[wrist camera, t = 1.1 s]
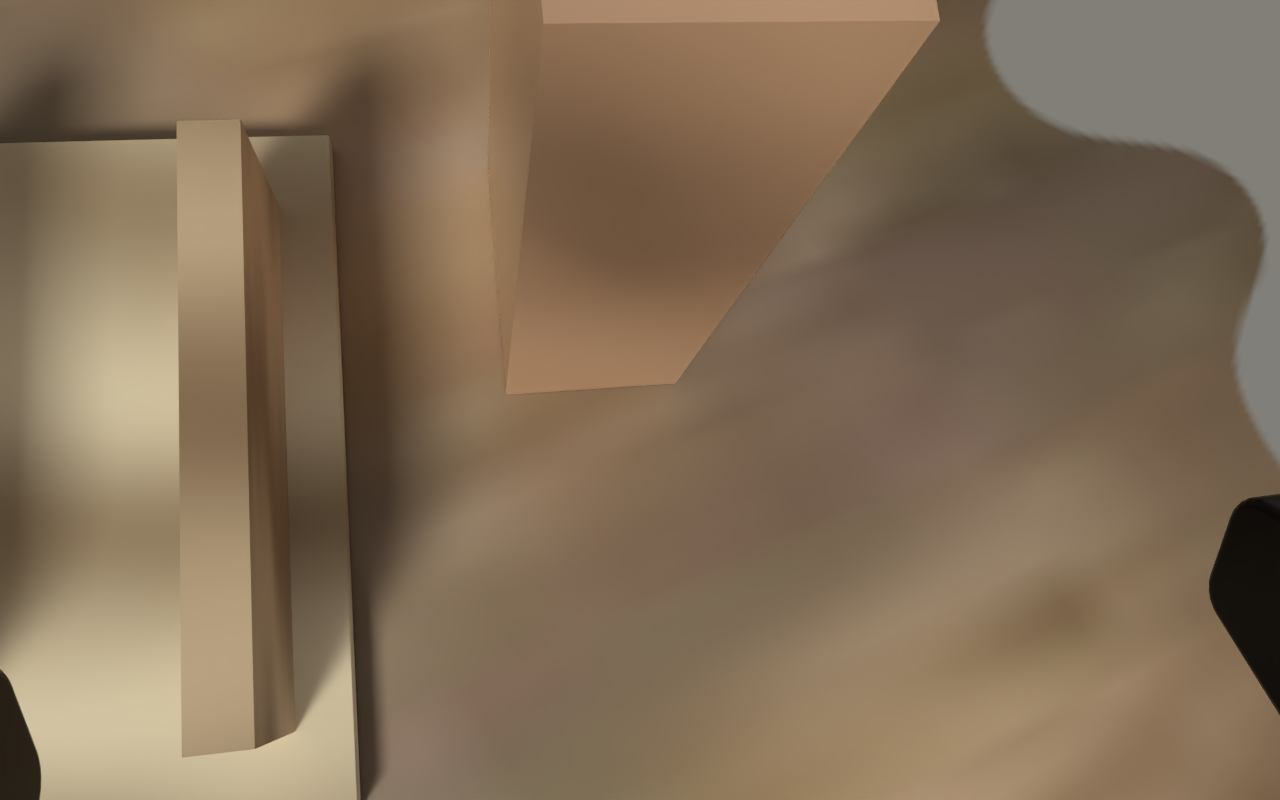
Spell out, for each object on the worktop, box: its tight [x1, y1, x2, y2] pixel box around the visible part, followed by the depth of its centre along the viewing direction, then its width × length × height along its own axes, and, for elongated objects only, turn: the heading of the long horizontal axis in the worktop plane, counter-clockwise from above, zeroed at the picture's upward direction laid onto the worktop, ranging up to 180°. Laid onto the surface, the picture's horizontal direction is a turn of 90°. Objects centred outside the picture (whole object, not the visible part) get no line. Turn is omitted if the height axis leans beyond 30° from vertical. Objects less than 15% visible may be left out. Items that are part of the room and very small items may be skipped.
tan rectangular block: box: [488, 0, 940, 395], centre depth 16 cm, size 4×5×13 cm
